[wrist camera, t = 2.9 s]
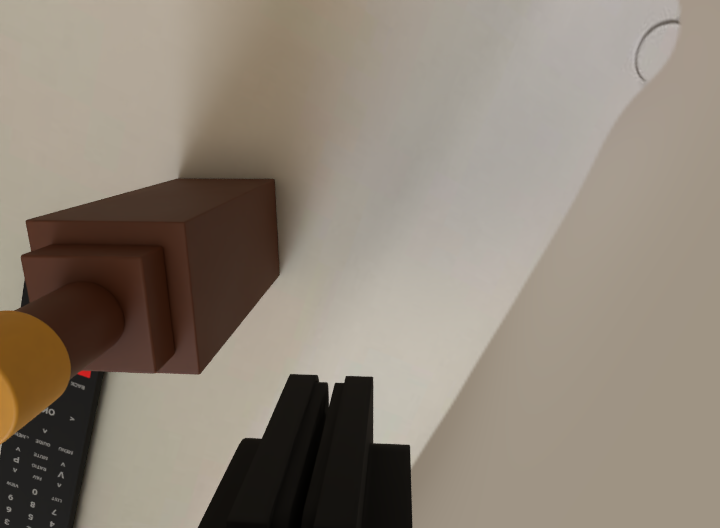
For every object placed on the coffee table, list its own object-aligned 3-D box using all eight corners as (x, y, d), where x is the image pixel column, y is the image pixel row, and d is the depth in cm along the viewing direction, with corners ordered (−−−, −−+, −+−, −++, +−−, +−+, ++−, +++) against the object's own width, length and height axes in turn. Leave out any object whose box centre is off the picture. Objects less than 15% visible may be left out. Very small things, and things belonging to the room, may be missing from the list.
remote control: (126, 283, 31) (114, 290, 30) (67, 572, 38) (55, 588, 37) (43, 254, 31) (27, 260, 29) (-1, 549, 38) (-15, 564, 36)
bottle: (274, 178, 28) (53, 284, 11) (279, 275, 30) (93, 508, 12) (177, 178, 29) (-192, 278, 11) (187, 273, 30) (-123, 494, 13)
